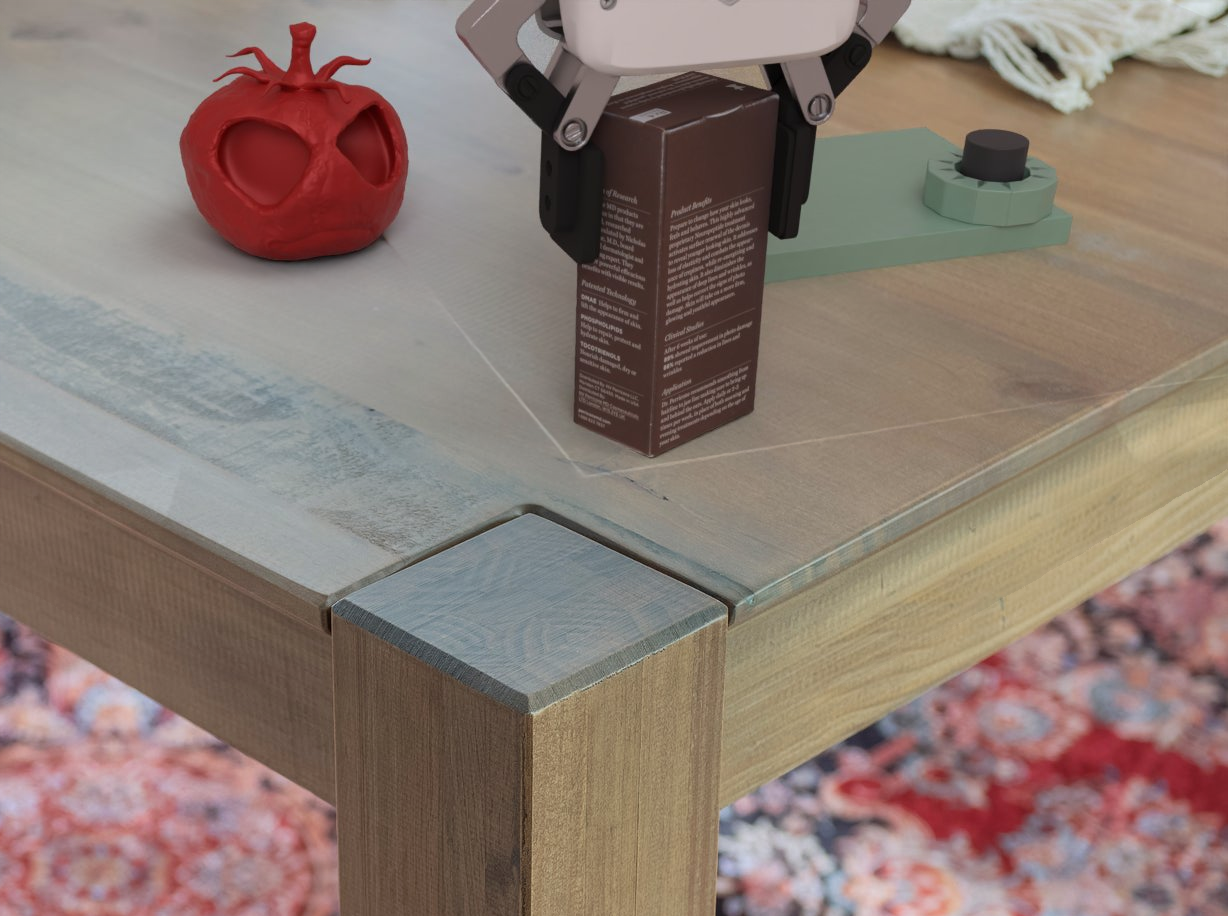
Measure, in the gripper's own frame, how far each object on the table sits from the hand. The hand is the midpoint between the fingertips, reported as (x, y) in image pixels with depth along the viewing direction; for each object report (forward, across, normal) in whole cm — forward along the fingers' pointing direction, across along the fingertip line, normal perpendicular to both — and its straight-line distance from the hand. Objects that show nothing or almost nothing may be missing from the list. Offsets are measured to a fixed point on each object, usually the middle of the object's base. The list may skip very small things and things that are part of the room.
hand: (672, 234), depth 67 cm
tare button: (+5, +22, +13) cm, 26 cm away
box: (+7, 0, 0) cm, 7 cm away
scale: (+7, +17, +17) cm, 25 cm away
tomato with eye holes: (+7, -8, +22) cm, 25 cm away
